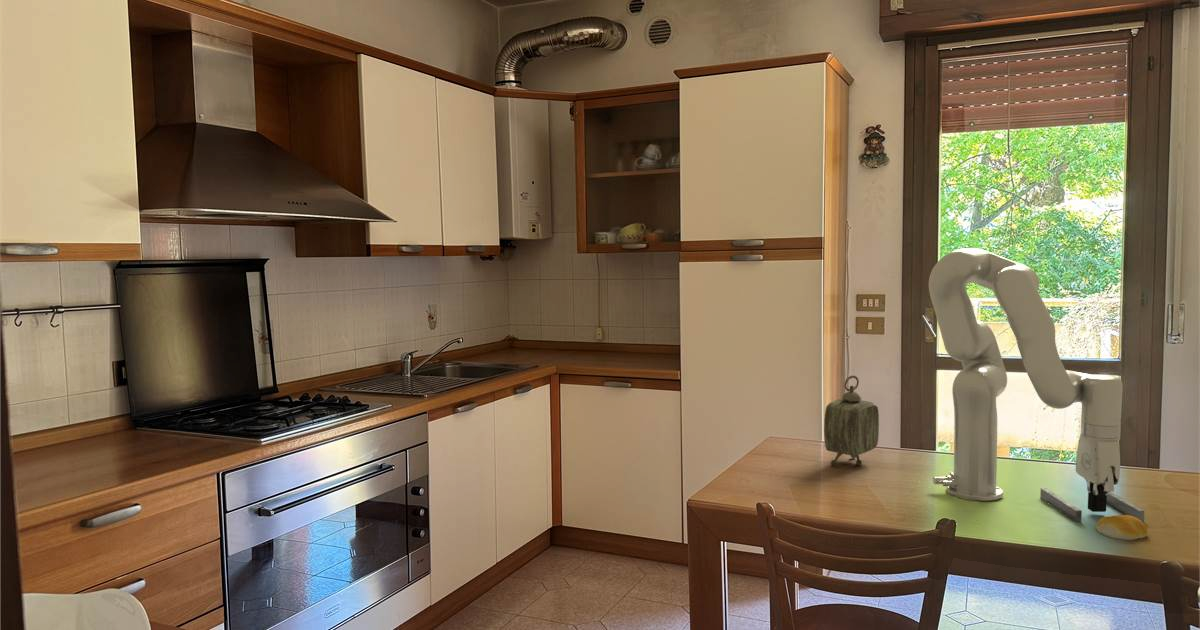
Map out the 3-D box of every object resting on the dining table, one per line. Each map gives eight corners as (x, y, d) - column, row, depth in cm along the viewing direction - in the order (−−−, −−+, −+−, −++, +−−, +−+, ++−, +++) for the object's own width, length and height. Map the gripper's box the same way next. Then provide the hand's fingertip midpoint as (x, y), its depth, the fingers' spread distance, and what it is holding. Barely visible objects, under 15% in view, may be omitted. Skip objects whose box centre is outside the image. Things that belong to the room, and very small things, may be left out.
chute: (1075, 521, 176) (1076, 510, 176) (1040, 498, 192) (1040, 488, 191) (1143, 521, 175) (1144, 510, 175) (1102, 498, 191) (1103, 487, 191)
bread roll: (1155, 537, 167) (1156, 518, 166) (1125, 544, 164) (1126, 525, 163) (1117, 524, 175) (1118, 506, 174) (1087, 530, 171) (1088, 512, 171)
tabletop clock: (851, 456, 232) (851, 370, 230) (880, 462, 225) (881, 374, 223) (824, 466, 222) (824, 377, 220) (853, 473, 216) (854, 381, 213)
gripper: (1065, 422, 186) (1062, 499, 188) (1101, 439, 171) (1097, 522, 173) (1099, 422, 185) (1096, 499, 187) (1137, 439, 170) (1133, 522, 172)
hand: (1096, 510), depth 180 cm, fingers closed
